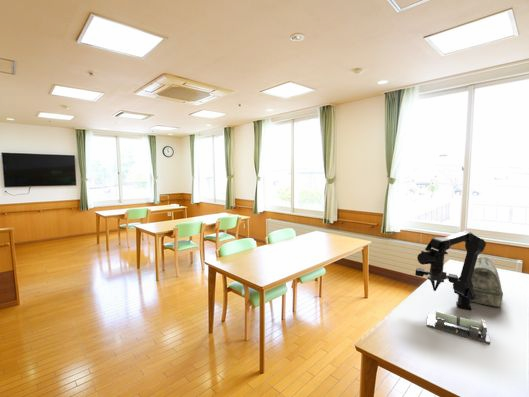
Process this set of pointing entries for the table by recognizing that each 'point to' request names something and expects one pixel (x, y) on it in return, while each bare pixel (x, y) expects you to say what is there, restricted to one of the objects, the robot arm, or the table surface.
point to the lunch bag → (486, 283)
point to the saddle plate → (459, 329)
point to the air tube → (459, 321)
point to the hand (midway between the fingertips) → (434, 290)
